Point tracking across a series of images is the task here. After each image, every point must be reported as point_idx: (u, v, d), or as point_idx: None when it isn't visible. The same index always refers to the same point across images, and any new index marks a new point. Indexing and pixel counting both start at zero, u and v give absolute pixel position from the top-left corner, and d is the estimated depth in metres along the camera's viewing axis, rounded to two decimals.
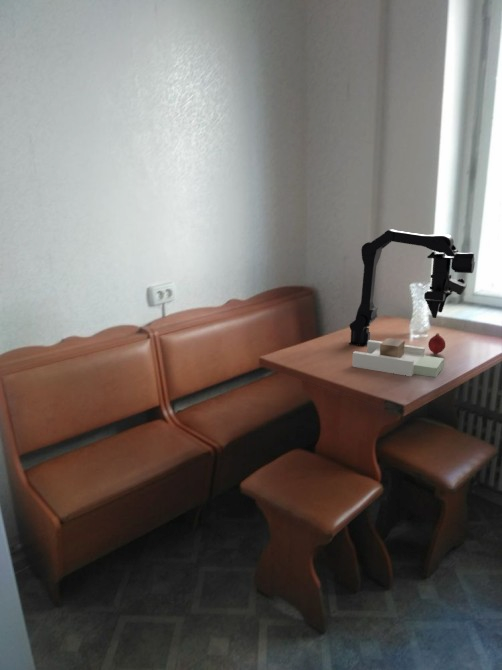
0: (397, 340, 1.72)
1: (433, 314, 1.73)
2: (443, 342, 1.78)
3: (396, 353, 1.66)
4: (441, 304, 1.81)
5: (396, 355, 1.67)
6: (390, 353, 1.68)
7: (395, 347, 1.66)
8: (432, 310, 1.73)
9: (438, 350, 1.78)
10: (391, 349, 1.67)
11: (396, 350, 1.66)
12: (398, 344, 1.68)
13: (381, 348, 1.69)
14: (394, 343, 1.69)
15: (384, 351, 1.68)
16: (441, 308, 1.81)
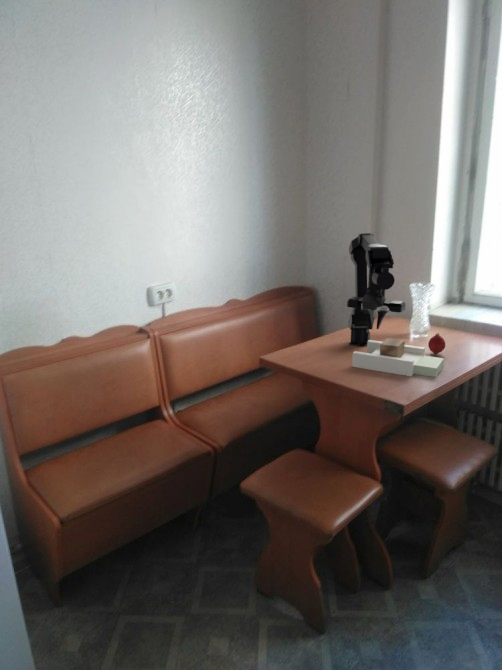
0: (397, 340, 1.72)
1: None
2: (443, 342, 1.78)
3: (396, 353, 1.66)
4: None
5: (396, 355, 1.67)
6: (390, 353, 1.68)
7: (395, 347, 1.66)
8: None
9: (438, 350, 1.78)
10: (391, 349, 1.67)
11: (396, 350, 1.66)
12: (398, 344, 1.68)
13: (381, 348, 1.69)
14: (394, 343, 1.69)
15: (384, 351, 1.68)
16: None
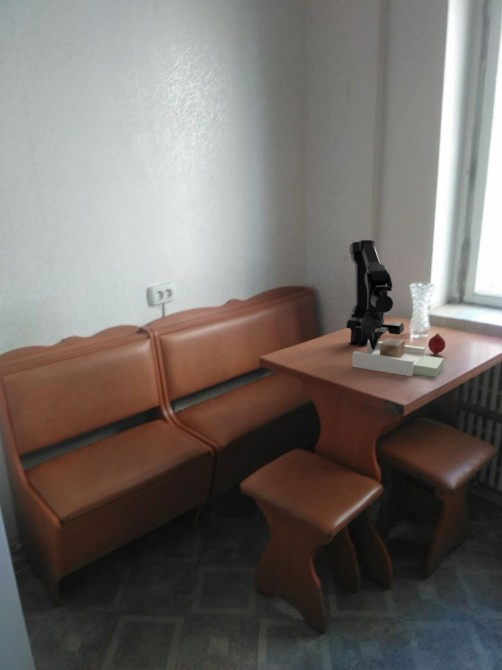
0: (397, 340, 1.72)
1: None
2: (443, 342, 1.78)
3: (396, 353, 1.66)
4: None
5: (396, 355, 1.67)
6: (390, 353, 1.68)
7: (395, 347, 1.66)
8: None
9: (438, 350, 1.78)
10: (391, 349, 1.67)
11: (396, 350, 1.66)
12: (398, 344, 1.68)
13: (381, 348, 1.69)
14: (394, 343, 1.69)
15: (384, 351, 1.68)
16: None
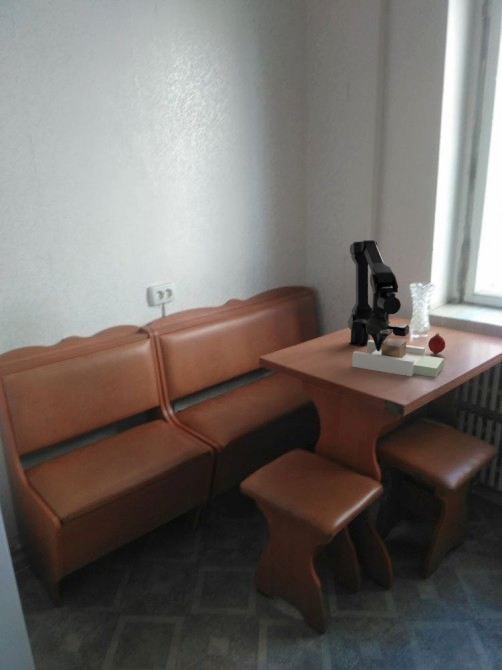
0: (399, 340, 1.72)
1: None
2: (443, 342, 1.78)
3: (398, 353, 1.66)
4: None
5: (398, 355, 1.66)
6: (391, 353, 1.67)
7: (396, 347, 1.66)
8: None
9: (438, 350, 1.78)
10: (392, 349, 1.67)
11: (397, 350, 1.66)
12: (400, 344, 1.67)
13: (382, 348, 1.69)
14: (396, 343, 1.69)
15: (385, 351, 1.68)
16: None
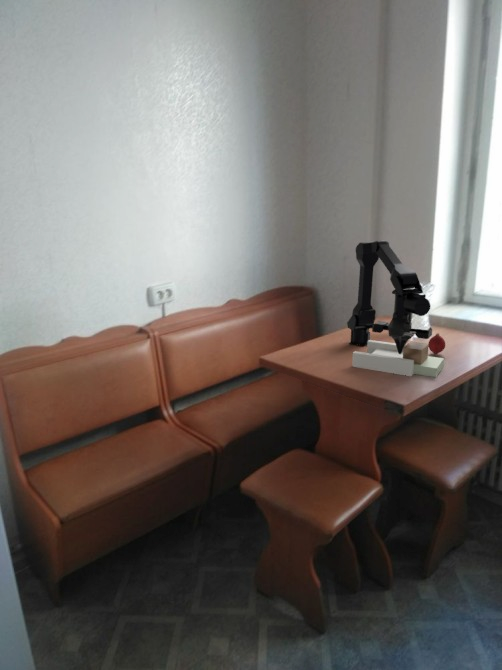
0: (421, 343, 1.68)
1: None
2: (443, 342, 1.78)
3: (420, 357, 1.62)
4: None
5: (420, 359, 1.62)
6: (413, 357, 1.63)
7: (419, 351, 1.62)
8: None
9: (438, 350, 1.78)
10: (415, 353, 1.63)
11: (420, 354, 1.62)
12: (422, 348, 1.63)
13: (404, 351, 1.65)
14: (418, 346, 1.64)
15: (407, 354, 1.64)
16: None
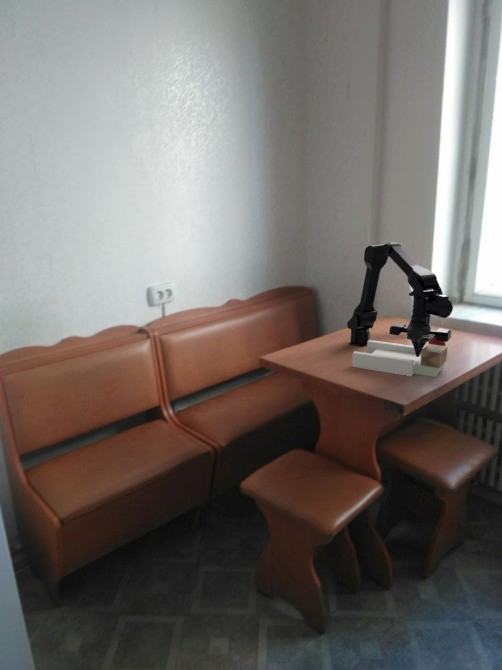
0: (439, 346, 1.64)
1: None
2: (443, 342, 1.78)
3: (438, 360, 1.59)
4: None
5: (438, 362, 1.59)
6: (431, 360, 1.60)
7: (437, 354, 1.59)
8: None
9: None
10: (433, 356, 1.60)
11: (438, 357, 1.59)
12: (440, 351, 1.60)
13: (422, 354, 1.61)
14: (436, 349, 1.61)
15: (425, 357, 1.61)
16: None
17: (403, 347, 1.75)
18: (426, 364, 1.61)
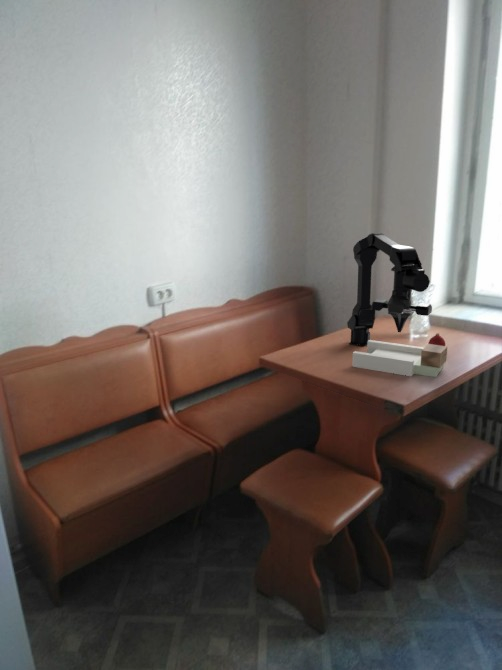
0: (439, 346, 1.64)
1: None
2: (443, 342, 1.78)
3: (438, 360, 1.59)
4: None
5: (438, 362, 1.59)
6: (431, 360, 1.60)
7: (437, 354, 1.59)
8: None
9: None
10: (433, 356, 1.60)
11: (438, 357, 1.59)
12: (440, 351, 1.60)
13: (422, 354, 1.61)
14: (436, 349, 1.61)
15: (425, 357, 1.61)
16: None
17: (403, 347, 1.75)
18: (426, 364, 1.61)
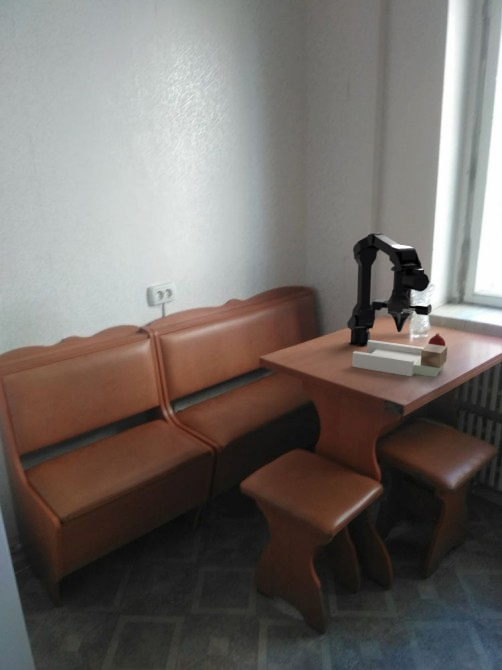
0: (439, 346, 1.64)
1: None
2: (443, 342, 1.78)
3: (438, 360, 1.59)
4: (400, 323, 1.67)
5: (438, 362, 1.59)
6: (431, 360, 1.60)
7: (437, 354, 1.59)
8: None
9: None
10: (433, 356, 1.60)
11: (438, 357, 1.59)
12: (440, 351, 1.60)
13: (422, 354, 1.61)
14: (436, 349, 1.61)
15: (425, 357, 1.61)
16: None
17: (403, 347, 1.75)
18: (426, 364, 1.61)
